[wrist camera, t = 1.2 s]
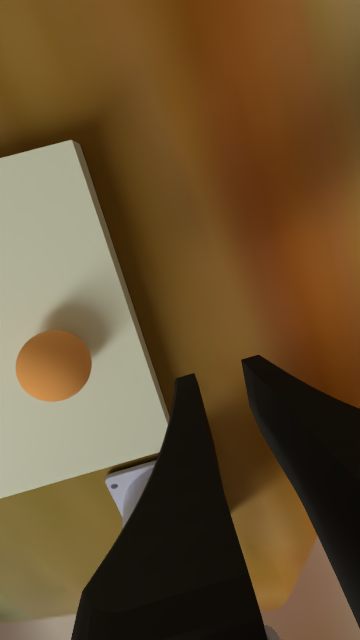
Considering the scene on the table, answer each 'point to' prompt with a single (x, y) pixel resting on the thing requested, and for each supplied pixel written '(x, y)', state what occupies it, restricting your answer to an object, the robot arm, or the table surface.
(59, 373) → the ball
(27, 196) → the deck
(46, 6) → the table surface
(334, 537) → the robot arm
